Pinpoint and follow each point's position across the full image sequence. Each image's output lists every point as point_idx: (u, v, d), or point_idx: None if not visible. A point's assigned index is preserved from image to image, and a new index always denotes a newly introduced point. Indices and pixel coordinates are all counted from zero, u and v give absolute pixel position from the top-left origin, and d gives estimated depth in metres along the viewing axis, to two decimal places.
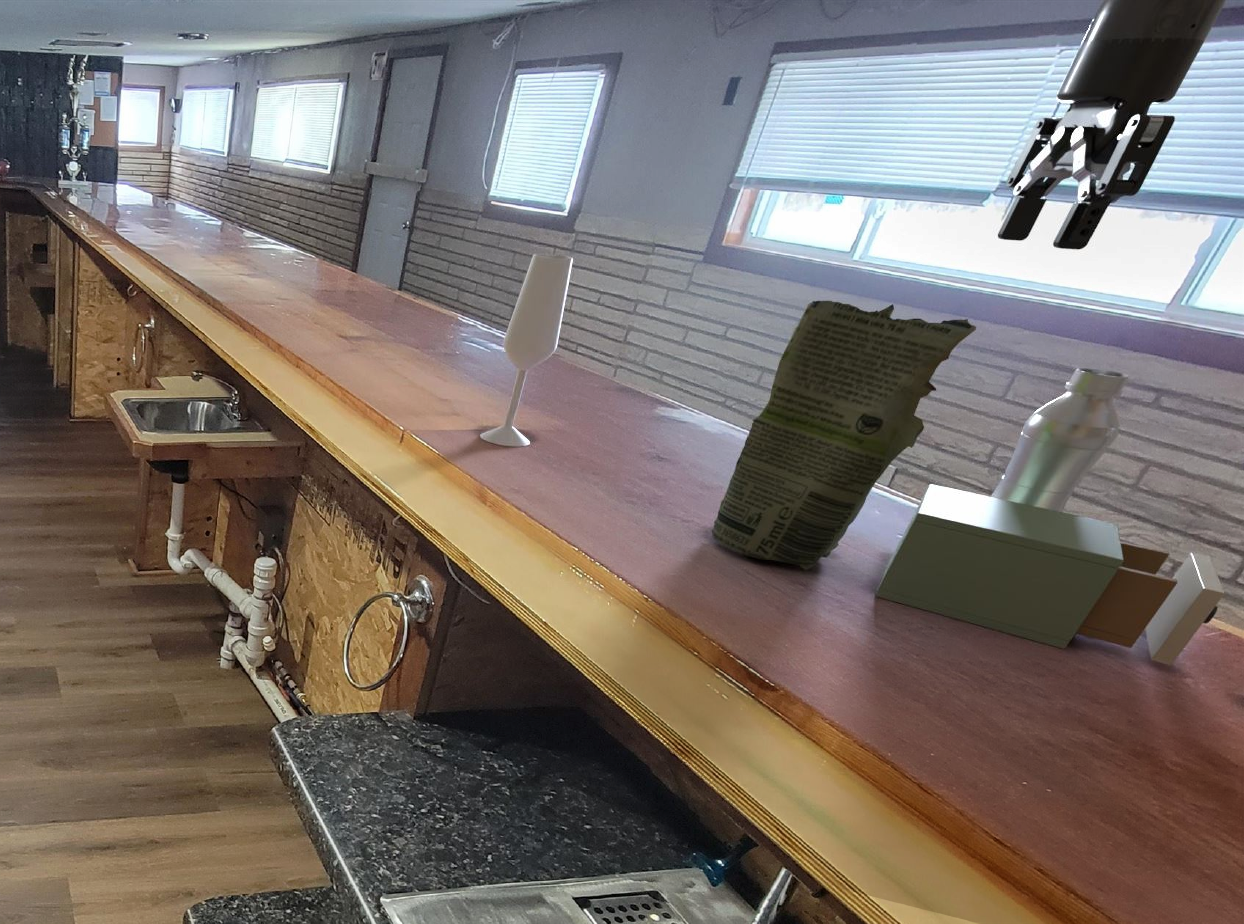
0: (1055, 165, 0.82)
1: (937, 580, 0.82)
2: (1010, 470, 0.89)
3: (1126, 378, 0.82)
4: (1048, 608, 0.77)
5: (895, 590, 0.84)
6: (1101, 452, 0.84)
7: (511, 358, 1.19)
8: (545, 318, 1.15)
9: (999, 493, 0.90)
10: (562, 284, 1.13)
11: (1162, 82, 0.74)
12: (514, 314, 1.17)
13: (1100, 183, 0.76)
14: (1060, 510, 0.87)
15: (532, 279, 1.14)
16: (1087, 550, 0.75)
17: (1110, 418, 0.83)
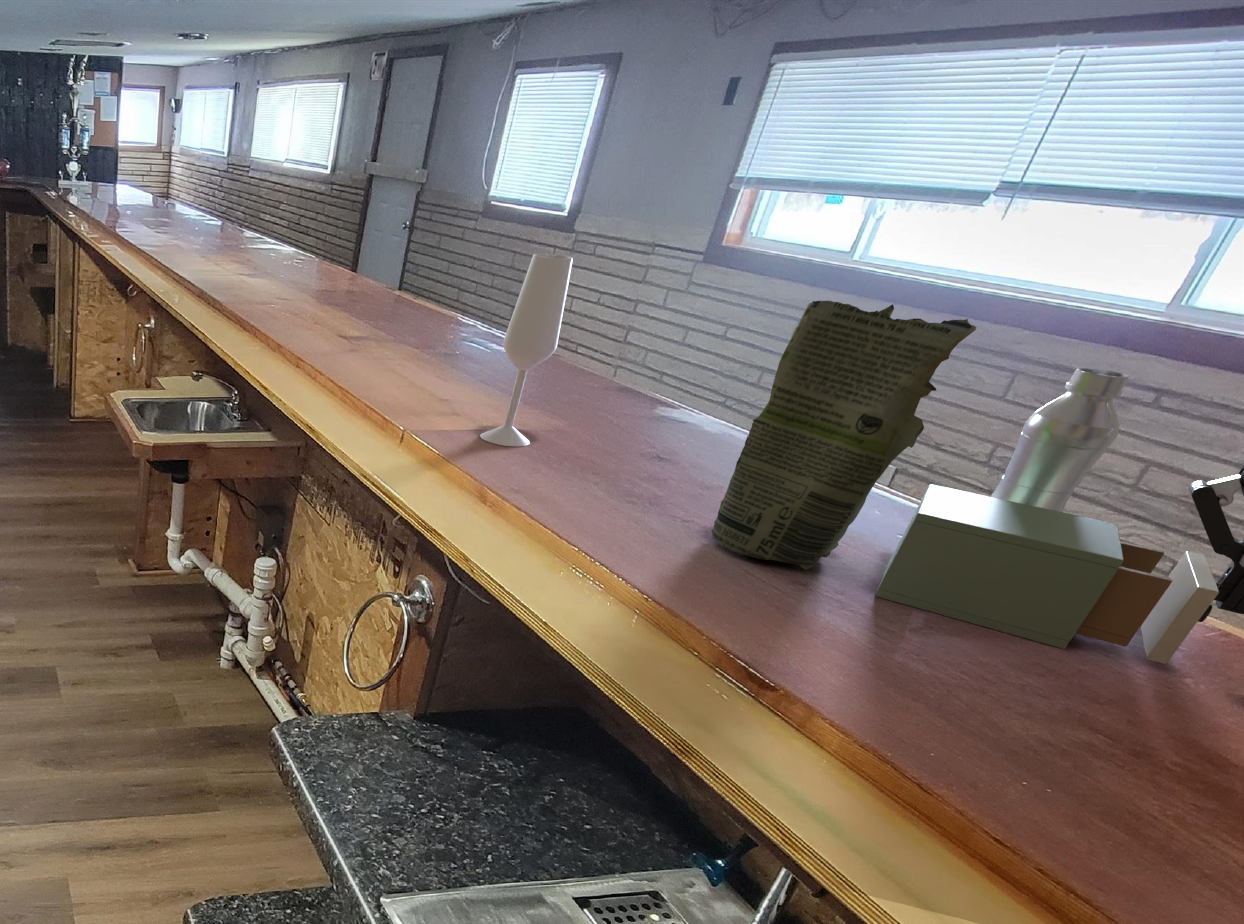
0: None
1: (937, 580, 0.82)
2: (1010, 470, 0.89)
3: (1126, 378, 0.82)
4: (1048, 608, 0.77)
5: (895, 590, 0.84)
6: (1101, 452, 0.84)
7: (511, 358, 1.19)
8: (545, 318, 1.15)
9: (999, 493, 0.90)
10: (562, 284, 1.13)
11: None
12: (514, 314, 1.17)
13: None
14: (1060, 510, 0.87)
15: (532, 279, 1.14)
16: (1087, 550, 0.75)
17: (1110, 418, 0.83)
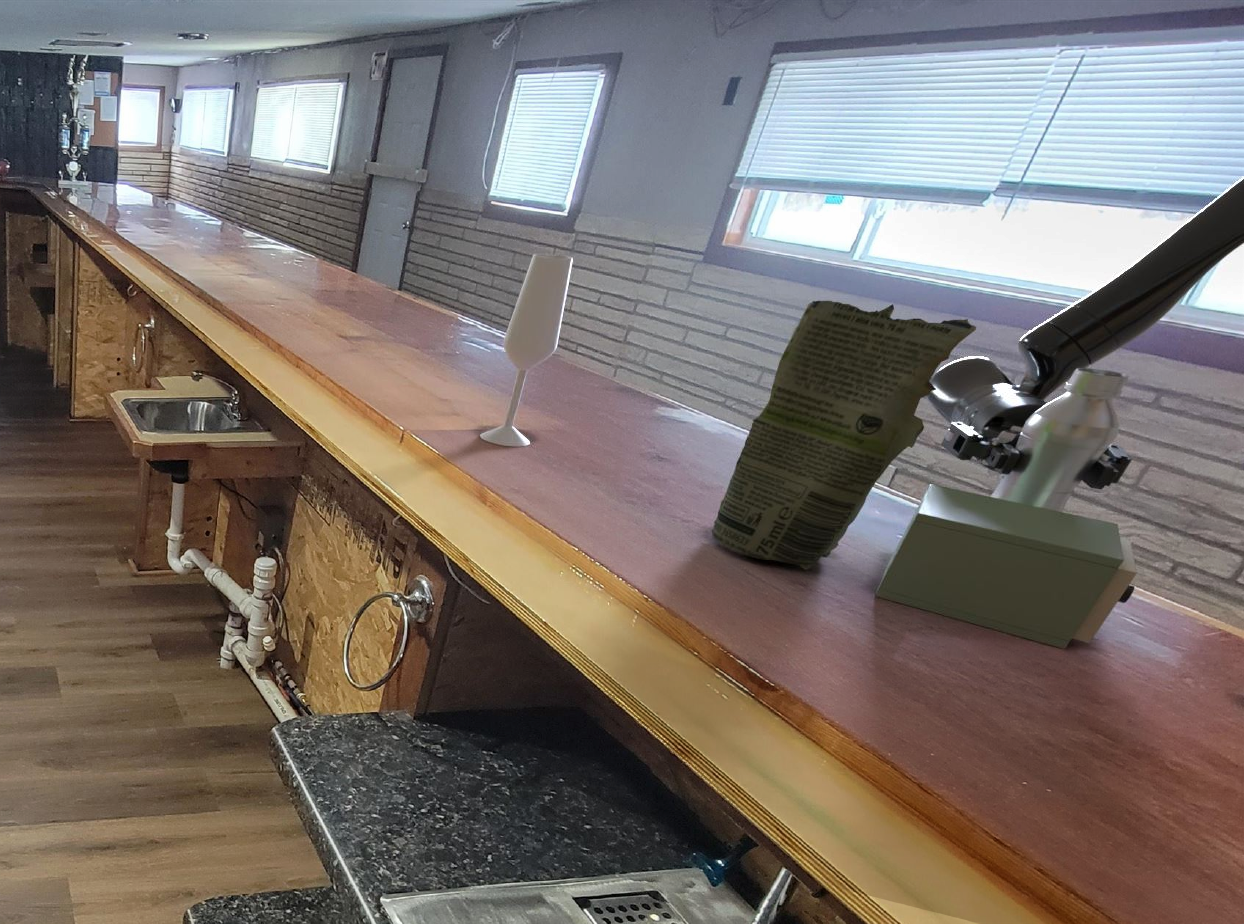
0: None
1: (937, 580, 0.82)
2: None
3: (1125, 378, 0.82)
4: (1048, 608, 0.77)
5: (895, 590, 0.84)
6: (1101, 452, 0.84)
7: (511, 358, 1.19)
8: (545, 318, 1.15)
9: (999, 493, 0.89)
10: (562, 284, 1.13)
11: None
12: (514, 314, 1.17)
13: (1122, 455, 0.87)
14: (1060, 510, 0.87)
15: (532, 279, 1.14)
16: (1087, 550, 0.75)
17: (1110, 418, 0.83)
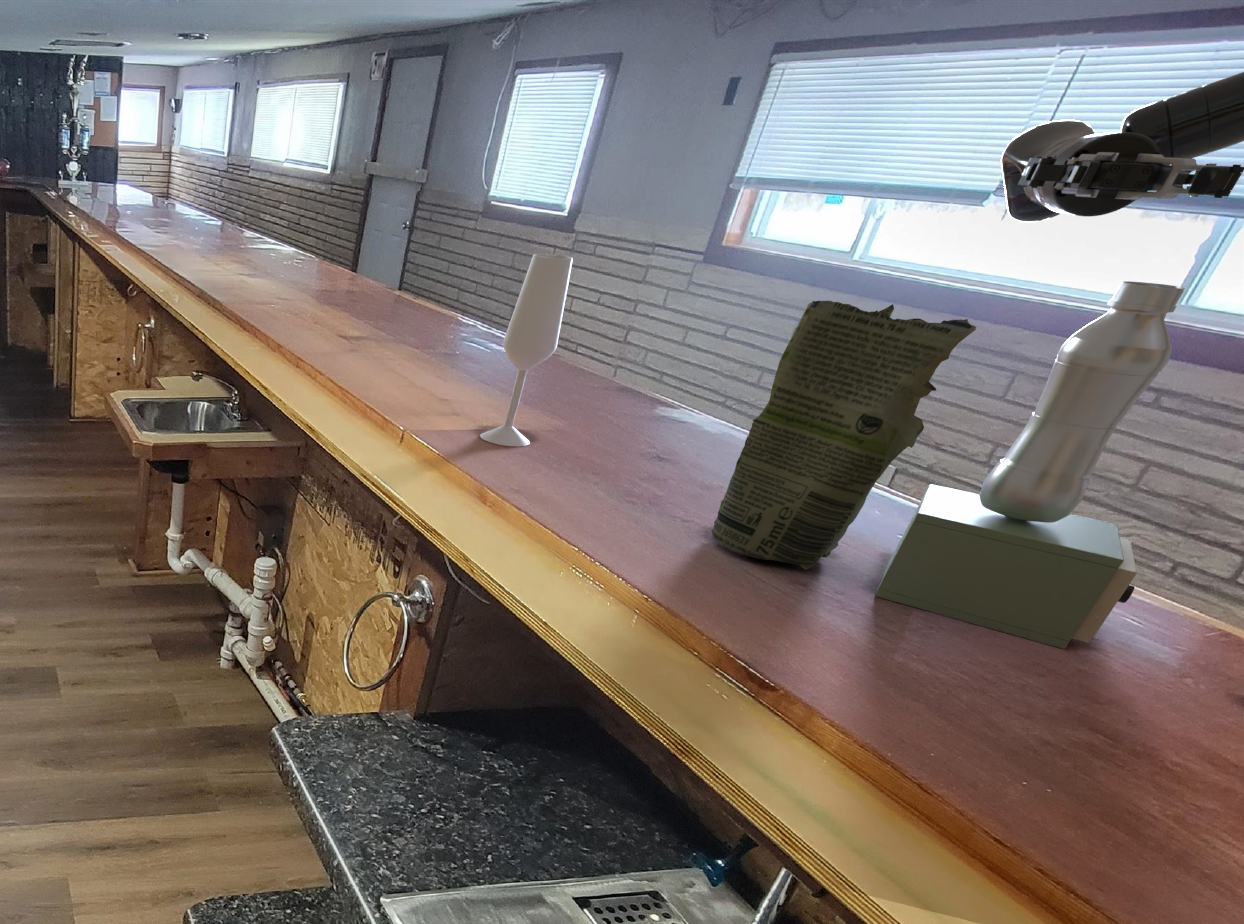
0: (1115, 163, 0.85)
1: (937, 580, 0.82)
2: (1042, 404, 0.77)
3: (1181, 290, 0.70)
4: (1048, 608, 0.77)
5: (895, 590, 0.84)
6: (1150, 379, 0.72)
7: (511, 358, 1.19)
8: (545, 318, 1.15)
9: (1029, 431, 0.78)
10: (562, 284, 1.13)
11: None
12: (514, 314, 1.17)
13: (1234, 165, 0.80)
14: (1100, 449, 0.75)
15: (532, 279, 1.14)
16: (1087, 550, 0.75)
17: (1162, 338, 0.71)
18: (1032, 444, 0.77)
